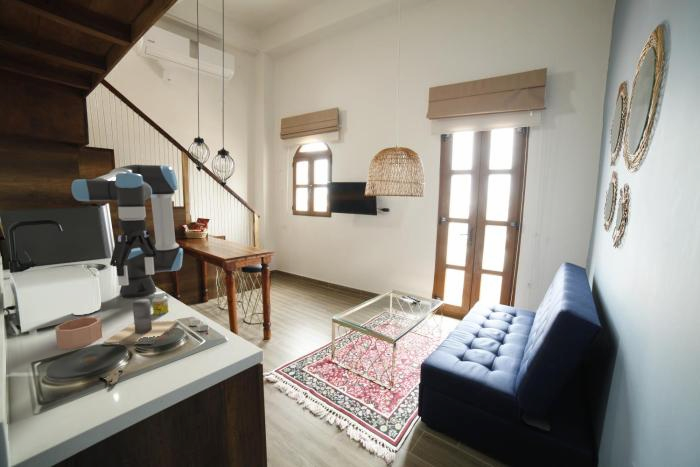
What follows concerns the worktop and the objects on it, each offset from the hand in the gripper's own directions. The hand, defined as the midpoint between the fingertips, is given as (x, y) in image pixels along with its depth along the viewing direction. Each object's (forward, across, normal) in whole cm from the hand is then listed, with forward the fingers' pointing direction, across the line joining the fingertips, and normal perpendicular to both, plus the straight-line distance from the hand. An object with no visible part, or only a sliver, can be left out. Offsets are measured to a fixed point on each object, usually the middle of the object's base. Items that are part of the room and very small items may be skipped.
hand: (137, 279), depth 104 cm
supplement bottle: (+21, -19, -5) cm, 29 cm away
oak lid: (+20, 0, 0) cm, 20 cm away
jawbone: (+22, +20, +13) cm, 32 cm away
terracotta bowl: (+21, +5, -18) cm, 28 cm away
